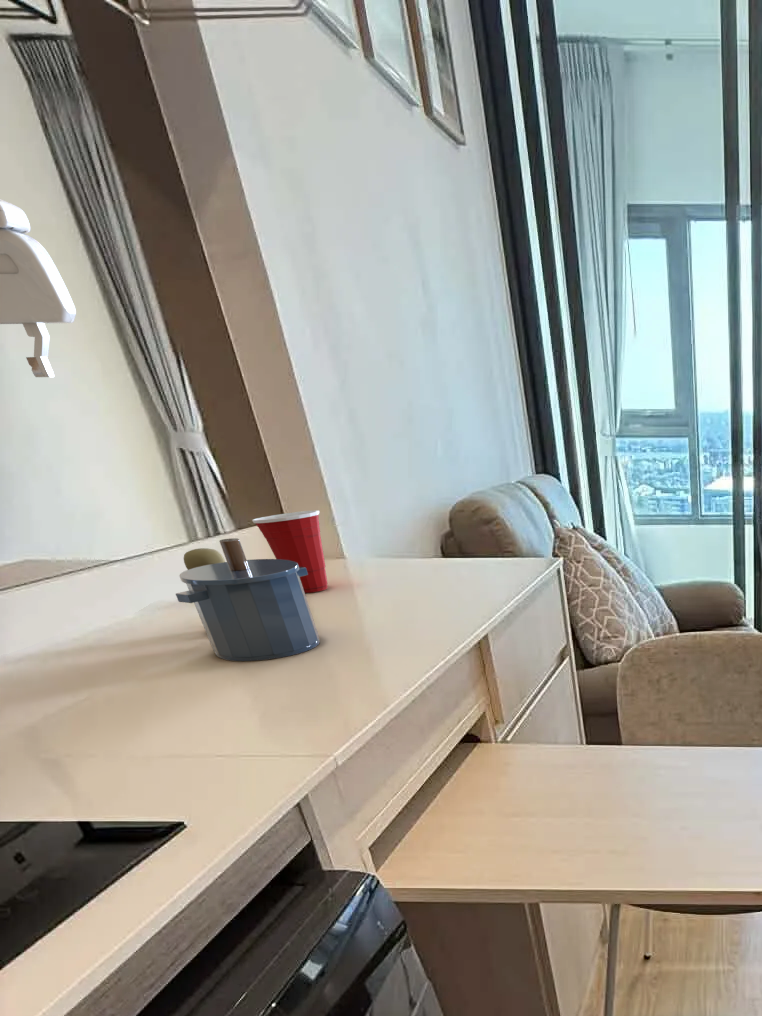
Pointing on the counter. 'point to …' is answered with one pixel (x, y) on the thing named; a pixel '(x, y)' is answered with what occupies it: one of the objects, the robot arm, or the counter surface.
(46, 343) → the robot arm
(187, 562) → the cork
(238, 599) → the pot
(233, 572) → the lid
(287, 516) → the plastic cup
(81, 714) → the counter surface
